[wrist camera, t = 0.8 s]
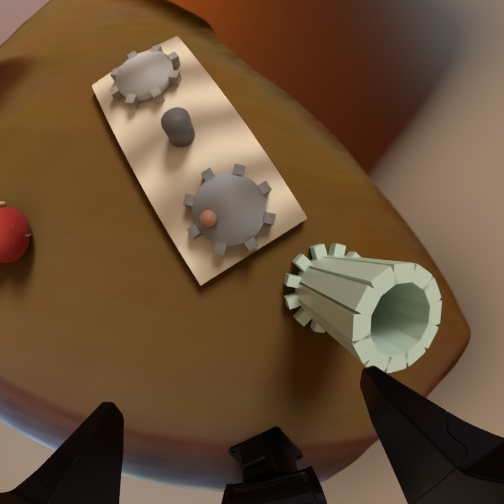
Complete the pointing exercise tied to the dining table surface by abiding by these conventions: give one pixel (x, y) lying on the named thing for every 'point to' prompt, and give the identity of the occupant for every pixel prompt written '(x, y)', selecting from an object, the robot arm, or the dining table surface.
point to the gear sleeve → (367, 305)
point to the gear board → (195, 159)
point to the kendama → (12, 233)
